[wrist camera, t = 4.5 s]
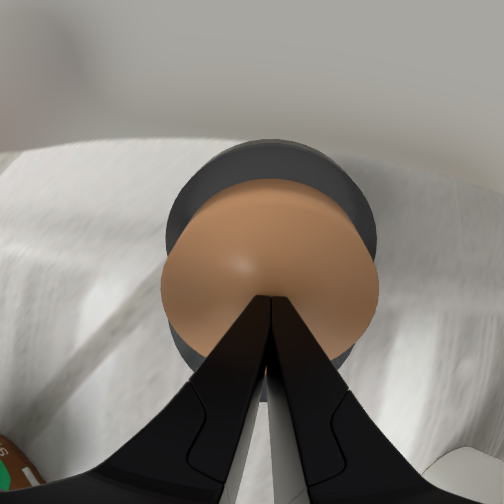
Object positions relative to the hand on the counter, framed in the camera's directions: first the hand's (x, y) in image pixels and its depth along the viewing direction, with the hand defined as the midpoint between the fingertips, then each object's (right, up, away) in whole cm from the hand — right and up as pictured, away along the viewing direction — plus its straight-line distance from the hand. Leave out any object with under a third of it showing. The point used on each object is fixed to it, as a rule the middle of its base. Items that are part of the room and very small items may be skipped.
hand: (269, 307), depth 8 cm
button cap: (0, 0, +4) cm, 4 cm away
